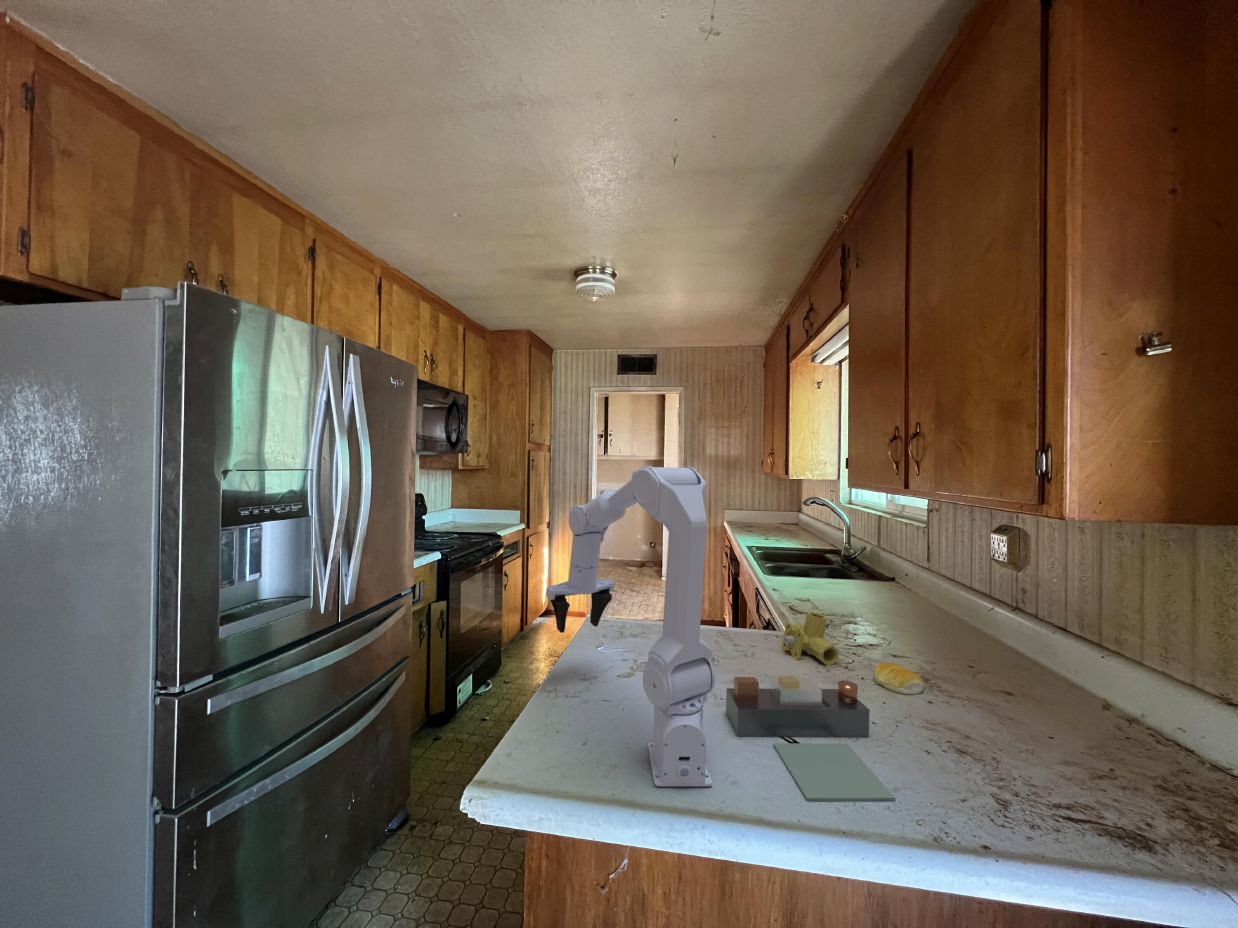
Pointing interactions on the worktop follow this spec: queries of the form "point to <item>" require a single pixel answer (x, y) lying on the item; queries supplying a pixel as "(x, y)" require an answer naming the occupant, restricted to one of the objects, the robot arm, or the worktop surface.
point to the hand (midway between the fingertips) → (577, 627)
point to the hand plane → (795, 713)
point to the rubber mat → (831, 773)
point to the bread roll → (897, 678)
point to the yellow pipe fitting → (809, 639)
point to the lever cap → (795, 691)
